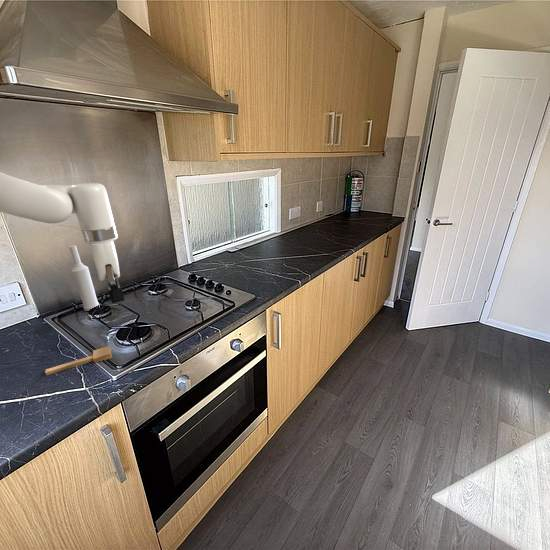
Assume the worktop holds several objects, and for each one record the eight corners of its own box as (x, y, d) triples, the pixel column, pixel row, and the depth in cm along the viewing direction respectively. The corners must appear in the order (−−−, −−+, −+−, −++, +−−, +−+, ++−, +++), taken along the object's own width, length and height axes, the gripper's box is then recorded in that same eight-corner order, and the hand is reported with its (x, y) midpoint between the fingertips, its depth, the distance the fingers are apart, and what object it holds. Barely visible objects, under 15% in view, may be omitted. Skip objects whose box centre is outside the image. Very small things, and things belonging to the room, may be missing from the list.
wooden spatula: (45, 378, 77) (43, 374, 77) (47, 369, 81) (45, 364, 80) (111, 358, 84) (110, 353, 84) (111, 349, 88) (109, 345, 87)
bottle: (100, 309, 111) (81, 246, 101) (84, 313, 108) (63, 249, 98) (99, 304, 115) (80, 242, 105) (84, 308, 112) (63, 245, 102)
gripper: (83, 229, 79) (101, 289, 87) (82, 245, 66) (103, 314, 73) (114, 225, 83) (128, 283, 90) (119, 239, 69) (135, 306, 77)
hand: (117, 297), depth 82 cm, fingers open, 4 cm apart
